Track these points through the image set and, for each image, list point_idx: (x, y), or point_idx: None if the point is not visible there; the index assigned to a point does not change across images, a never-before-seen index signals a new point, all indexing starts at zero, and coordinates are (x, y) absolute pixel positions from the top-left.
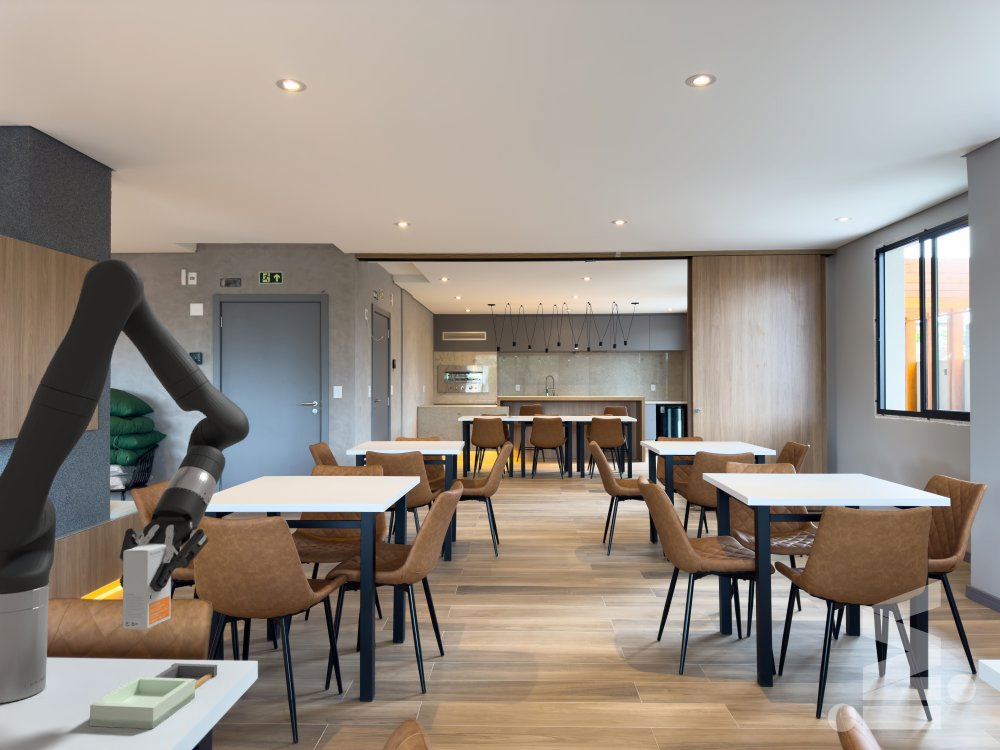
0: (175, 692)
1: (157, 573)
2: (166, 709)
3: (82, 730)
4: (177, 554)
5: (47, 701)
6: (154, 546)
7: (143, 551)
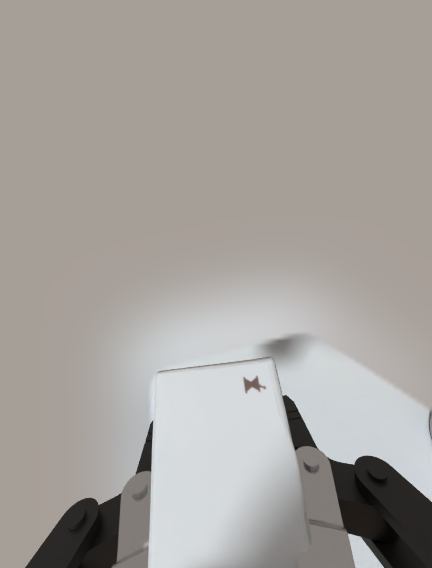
0: None
1: None
2: None
3: None
4: (86, 531)
5: (389, 430)
6: (187, 487)
7: (175, 369)
